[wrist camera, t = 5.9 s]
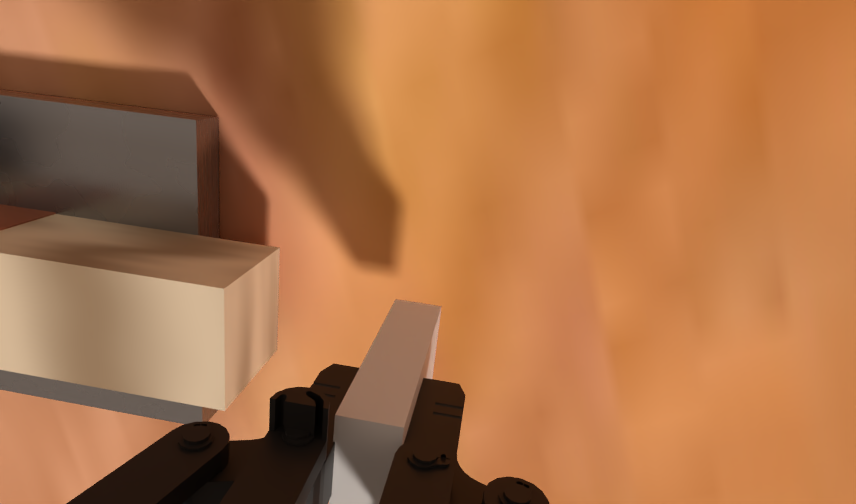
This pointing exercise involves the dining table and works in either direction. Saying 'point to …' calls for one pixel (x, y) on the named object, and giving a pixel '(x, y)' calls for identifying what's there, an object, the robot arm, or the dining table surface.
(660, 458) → the dining table surface
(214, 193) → the slotted block rack
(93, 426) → the dining table surface
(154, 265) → the wooden chunk
